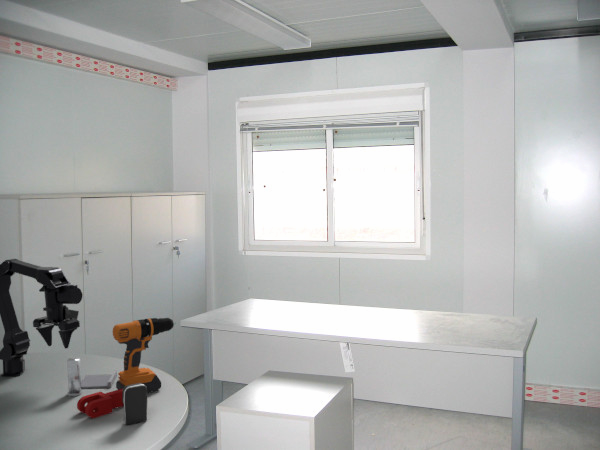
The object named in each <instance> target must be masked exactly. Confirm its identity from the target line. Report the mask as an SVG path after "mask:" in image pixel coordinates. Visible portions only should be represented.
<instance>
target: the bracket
mask: <svg viewBox="0 0 600 450" xmlns="http://www.w3.org/2000/svg"><path fill="white" fill-rule="evenodd" d="M117 376H118V371H117V370H113V372H112V373H109V374H85V375H84V377H83V379H81V380H82V381H81V390H82V389H105V388H106V389H107V388H108V389H109V388H112V386H113V385H114V382H115V381H116V379H117V378H118V377H117Z"/></svg>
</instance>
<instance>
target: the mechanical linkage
mask: <svg viewBox="0 0 600 450" xmlns="http://www.w3.org/2000/svg"><path fill="white" fill-rule="evenodd" d="M122 391H123V389H119V390H118V389H115V390H112V391H109V392H105V393H104V392H102V391H97V392H95V393H91V394H87V395H83V396H82V397H80V398H79V400H77V404H76V409H77V410H78V411H79V412H80V413H82V414H85V415H86V416H87V417H89V418H91V419H96V418H99V417H103V416H105V415H108V414H112V413H113V409H114V410H115V409H118V408H121V407H124V404H123V403H122ZM117 407H118V408H117Z"/></svg>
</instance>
